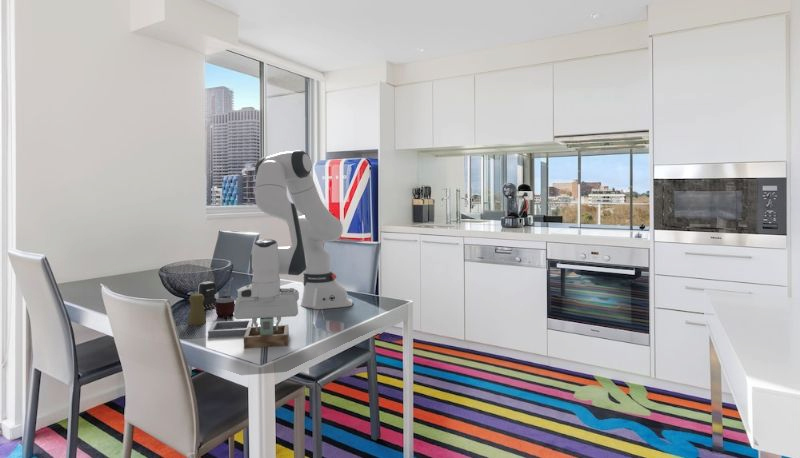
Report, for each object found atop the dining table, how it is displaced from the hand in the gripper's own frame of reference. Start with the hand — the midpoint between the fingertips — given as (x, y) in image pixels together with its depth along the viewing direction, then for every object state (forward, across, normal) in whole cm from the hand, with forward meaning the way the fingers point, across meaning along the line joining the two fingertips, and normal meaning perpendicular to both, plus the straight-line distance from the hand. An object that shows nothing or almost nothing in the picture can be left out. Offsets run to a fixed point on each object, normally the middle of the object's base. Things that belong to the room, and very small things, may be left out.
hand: (267, 330), depth 149 cm
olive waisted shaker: (+4, +27, -26) cm, 38 cm away
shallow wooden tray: (+4, 0, 0) cm, 4 cm away
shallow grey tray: (+4, +13, -13) cm, 19 cm away
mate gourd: (+4, +18, -33) cm, 38 cm away
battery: (+4, +27, -46) cm, 53 cm away
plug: (+4, 0, 0) cm, 4 cm away
